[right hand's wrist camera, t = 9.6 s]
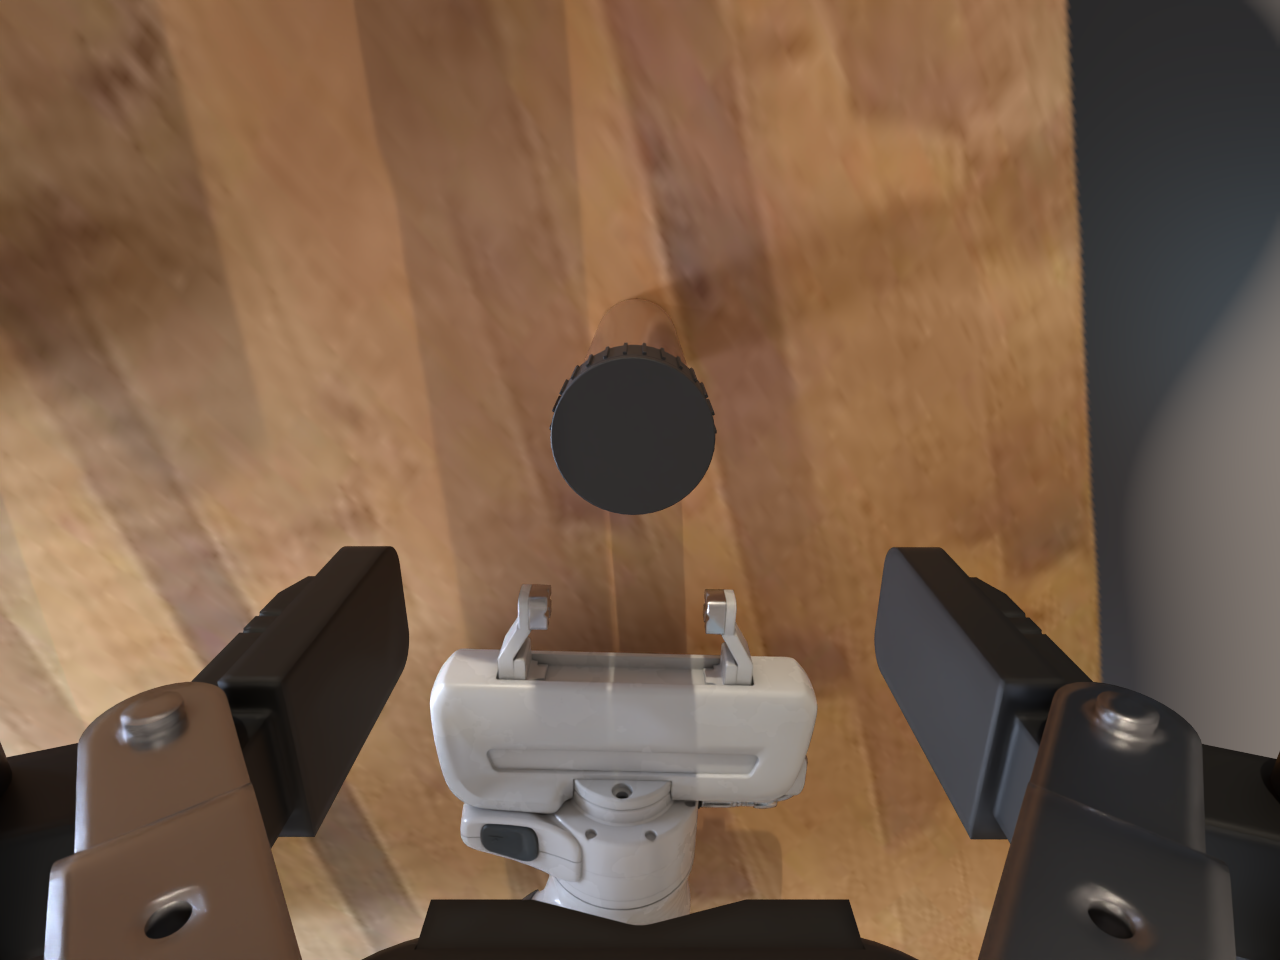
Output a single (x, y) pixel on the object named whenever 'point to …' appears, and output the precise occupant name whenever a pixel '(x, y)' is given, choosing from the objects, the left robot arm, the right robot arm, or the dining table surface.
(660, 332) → the brown capped cylinder
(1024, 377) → the dining table surface
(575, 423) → the lid
